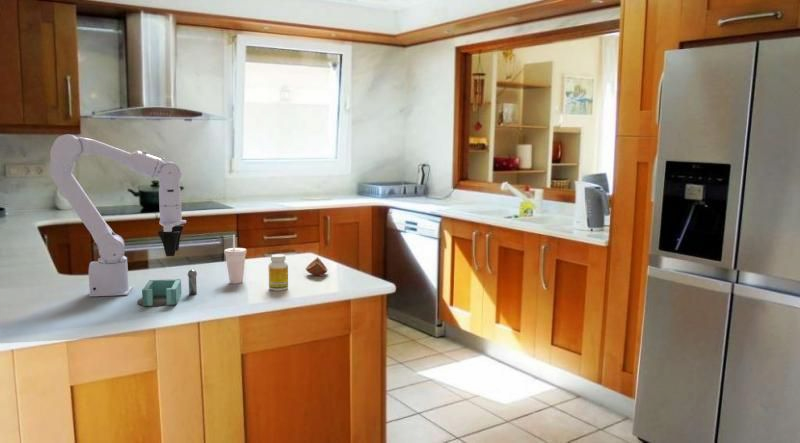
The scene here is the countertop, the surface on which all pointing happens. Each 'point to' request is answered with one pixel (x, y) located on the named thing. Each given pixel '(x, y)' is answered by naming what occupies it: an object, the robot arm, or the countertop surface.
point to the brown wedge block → (316, 267)
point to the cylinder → (192, 282)
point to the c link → (162, 291)
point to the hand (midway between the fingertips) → (172, 253)
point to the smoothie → (235, 263)
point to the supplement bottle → (278, 273)
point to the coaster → (156, 300)
